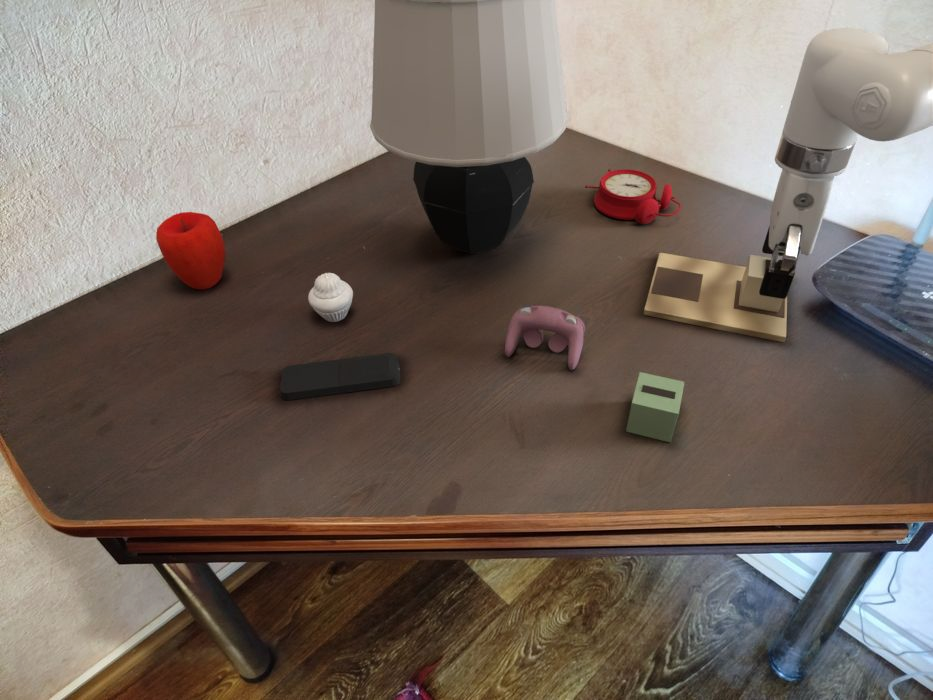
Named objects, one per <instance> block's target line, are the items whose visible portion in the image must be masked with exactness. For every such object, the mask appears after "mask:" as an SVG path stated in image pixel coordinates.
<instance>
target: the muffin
mask: <svg viewBox="0 0 933 700" xmlns="http://www.w3.org/2000/svg"><path fill="white" fill-rule="evenodd" d="M353 297H354V291H353V288H352V287H351V285H349V283H347V282H346V281H344V280H342V279H341V278H340V276H339V275H337V274H335V273H333V272H325V273H321V275H318V276H317V278H315V280H314V283H313V287H311V289H310V290H309V292H308V296H307V299H308V304H309V305H310V307H311V308H312V309H313V310H314V311H315V312H316V313H317V314H318V315H319V316H320V317H321V318H323V319H324V320H325V321H326V322H330V323H336V322H337V323H338V322H340V321H342V320H344V319H345V318H346V317H347V315H348V312H349V311H350V309H351V306H352V303H353Z"/></svg>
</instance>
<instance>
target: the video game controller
mask: <svg viewBox="0 0 933 700" xmlns="http://www.w3.org/2000/svg"><path fill="white" fill-rule="evenodd" d="M542 331H546V332H550V333H553V334H552V335H551V336H550V338H549V339H548V343H547V346H548V349H550V351H552V352H553V353H561V352H562V351H564V350H565V349H566V347H567V346H568V353H567V366H568V369H569V370H571V371H572V370H574V369H576V368H577V366H578V364H579V361H580V359H581V354H582V350H583V346H584V337H585V331H586V325H585V323H584V321H583V320H582V319H581V318H580V317H579V316H577V315H574V314H572V313H570V312H569V311H567V310H564V309H562V308H558V307H553V306H549V305H527V306H522V307H520V308H518V309H517V311H516V312H514V314H513V315H512V317H511V319H510V321H509V324H508V327H507V332H506V336H505V343H504V354H505V356H506V357H507V358H510V357H512V355H513V354H514V353H515V351H516V349H517V347H518V344H519V342H520V340H521V337H522V336H523V339H524V342H525V344H526V345H527V346H528V348H529V347H530V348H537V347H539V346H541V345H542V343H543V341H544V334H543V332H542Z"/></svg>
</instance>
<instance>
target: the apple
mask: <svg viewBox="0 0 933 700" xmlns="http://www.w3.org/2000/svg"><path fill="white" fill-rule="evenodd" d="M155 233H156V234H155V239H156V242H157V246H158V248H159V251H160V253H161V255H162V257H163V260H164V261H165V263H166V265H167V266H168V267H169V268H170V270H171V271H172V272H173V274H174V275H175V276H176V277H177V278H178V279H180V280H181V282H183V283H184V284H186V285H187V286H188V287H190V288H192V289H195V290H207V289H210V288H212V287H214V286H215V285H217V284H218V283H219V281H221V279H222V275H223V271H224V267H225V261H226V247H225V243H224V238H223V236H222V233H221V231H220V229H219V227H218V225H217V223H216V221H215V220H214V219H213V218H212V217H211V216H210V215H209V214H205V213H201V212H194V211H184V212H182V211H181V212H179V213H175V214H173V215H171V216H170V217H167V218H166V219H165V220H163V222H161V223H160V225H159V226H158V227H156V232H155Z"/></svg>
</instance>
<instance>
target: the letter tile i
mask: <svg viewBox="0 0 933 700" xmlns="http://www.w3.org/2000/svg"><path fill="white" fill-rule="evenodd" d="M684 386H685V381H684V380H683V381H682V380H678V379H674V378H668V377H664V376H660V375H655V374H650V373H647V372H642V371H639V372H638V376H637V381H636V384H635V390H634V392H633V396H632V400H631V406H630V410H629V414H628V418H627V419H628V420H627V424H626V430H625V432H626V433H631V434H634V435H638V436H642V437H647V438H651V439H655V440H659V441H663V442H667V443H671V442H672V438H673V436H674V432H675V429H676V426H677V425H676V424H677V422H678V418H679V415H680V409H681V403H682V398H683V392H684V388H685V387H684Z"/></svg>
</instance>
